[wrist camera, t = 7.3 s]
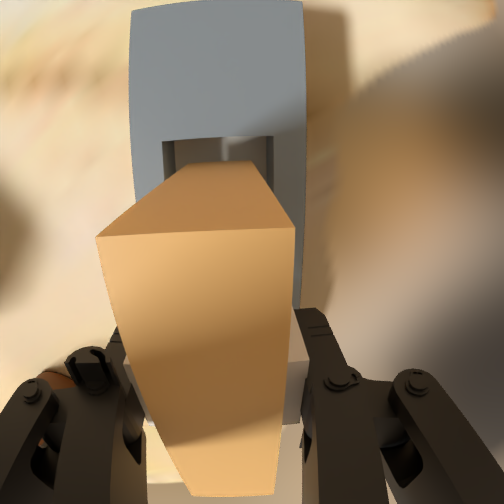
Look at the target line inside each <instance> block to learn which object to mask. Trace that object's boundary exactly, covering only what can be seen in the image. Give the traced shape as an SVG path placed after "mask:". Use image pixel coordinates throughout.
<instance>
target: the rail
mask: <svg viewBox="0 0 504 504" xmlns="http://www.w3.org/2000/svg"><path fill="white" fill-rule="evenodd" d="M129 120H130V140H131V155H132V167H133V178H134V188H135V197H136V203H137V202H138V201H139V200H140V199H142V198H143V197H144V196H145V195H147V194H148V193H149V192H151V191H152V190H153V189H154V188H156V187H157V186H158V185H160V184H161V183H162V182H164V181H165V180H166V179H168V178H169V177H170V176H172V175H173V174H175V173H176V172H177V171H179V170H180V169H181V168H183V167H184V166H186V165H187V164H188V163H199V162H217V161H243V160H251V161H252V162H253V164H254V165H255V167H256V168H257V170H258V171H259V173H260V174H261V176H262V177H263V179H264V180H265V182H266V183H267V185H268V186H269V188H270V189H271V191H272V192H273V194H274V195H275V197H276V198H277V200H278V201H279V203H280V205H281V206H282V208H283V209H284V211H285V212H286V214H287V215H288V217H289V219H290V220H291V222H292V223H293V225H294V226H295V249H294V272H293V292H292V307H293V309H299V308H300V295H301V280H302V264H303V246H304V224H305V196H306V132H307V127H306V66H305V40H304V21H303V5H302V1H291V0H201V1H190V2H181V3H173V4H166V5H160V6H154V7H148V8H143V9H138V10H133V11H132V13H131V26H130V45H129Z"/></svg>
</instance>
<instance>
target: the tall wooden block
mask: <svg viewBox="0 0 504 504" xmlns="http://www.w3.org/2000/svg"><path fill="white" fill-rule="evenodd" d="M95 238H96V243H97V248H98V253H99V258H100V262H101V267H102V271H103V275H104V280H105V284H106V288H107V291H108V295H109V299H110V303H111V306H112V310H113V313H114V317H115V320H116V323H117V327H118V330H119V333H120V336H121V339H122V342H123V345H124V348H125V351H126V354H127V357H128V360H129V363H130V366H131V368H132V371H133V374H134V376H135V379H136V382H137V384H138V387H139V389H140V392H141V394H142V397H143V399H144V401H145V404H146V406H147V409H148V411H149V413H150V415H151V418H152V420H153V422H154V424H155V426H156V429H157V431H158V433H159V435H160V437H161V439H162V441H163V443H164V445H165V447H166V449H167V451H168V453H169V455H170V457H171V459H172V461H173V463H174V465H175V467H176V469H177V470H178V472H179V474H180V476H181V478H182V479H183V481H184V483H185V484H186V486H187V488H188V489H189V491H190V493H191V495H192V496H208V497H237V496H258V495H271V494H273V493H274V487H275V480H276V472H277V464H278V456H279V447H280V439H281V429H282V420H283V410H284V400H285V389H286V378H287V366H288V353H289V340H290V325H291V309H292V292H293V272H294V249H295V226H294V225H293V223H292V222H291V220H290V219H289V217H288V215H287V214H286V212H285V211H284V209H283V208H282V206H281V205H280V203H279V201H278V200H277V198H276V197H275V195H274V194H273V192H272V191H271V189H270V188H269V186H268V185H267V183H266V182H265V180H264V179H263V177H262V176H261V174H260V173H259V171H258V170H257V168H256V167H255V165H254V164H253V162H252V161H251V160H243V161H217V162H199V163H188V164H187V165H186V166H184V167H183V168H181V169H180V170H179V171H177V172H176V173H175V174H173V175H172V176H170V177H169V178H168V179H166V180H165V181H164V182H162V183H161V184H160V185H158V186H157V187H156V188H154V189H153V190H152V191H151V192H149V193H148V194H147V195H145V196H144V197H143V198H142V199H140V200H139V201H138V202H137V203H135V204H134V205H133V206H132V207H130V208H129V209H128V210H127V211H125V212H124V213H123V214H122V215H121V216H119V217H118V218H117V219H116V220H115V221H113V222H112V223H111V224H110V225H109V226H108V227H106V228H105V229H104V230H103V231H102V232H101V233H99V234H98V235H97V236H96V237H95Z"/></svg>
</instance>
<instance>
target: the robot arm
mask: <svg viewBox="0 0 504 504" xmlns="http://www.w3.org/2000/svg"><path fill="white" fill-rule="evenodd" d="M64 363H65V366H66V368H67V370H68V372H69V373H70V375H71V377H72V379H73V381H74V383H75V385H76V386H75V387H71V388H64V389H55V390H53V389H52V388H51V386H50V385H49V383H48V381H46V380H44V379H42V378H33V379H29V380H27V381H25V382H23V383H22V384H21V385H20V386H19V387H18V388H17V390H16V391H15V392H14V394H13V395H12V397H11V398H10V400H9V401H8V403H7V404H6V406H5V407H4V409H3V410H2V412H1V413H0V504H148V501H147V476H146V436H145V432H144V430H143V428H142V426H143V422H144V418H146V420H147V422H148V424H149V426H155V424H154V422H153V420H152V418H151V415H150V413H149V411H148V409H147V406H146V404H145V401H144V399H143V397H142V394H141V392H140V389H139V387H138V384H137V382H136V379H135V376H134V374H133V371H132V368H131V366H130V363H129V360H128V357H127V354H126V351H125V348H124V345H123V342H122V339H121V336H120V333H119V330H118V327H116V329H115V331H114V334H113V335H112V337H111V339H110V343H108V345H107V347H106V349H103V348H101V347H95V346H90V347H84V348H81V349H79V350H76V351H74V352H73V353H72V354H71V355H69V356H68V358H67V359H66V361H65V362H64ZM301 416H302V421H303V425H304V429H303V434H302V438H301V443H300V448H302V504H389V499H388V493H387V487H386V481H387V483H388V485H389V487H390V489H391V491H392V493H393V495H394V497H395V500H396V502H397V504H504V472H503V470H502V469H501V467H500V466H499V465H498V463H497V461H496V460H495V459H494V457H493V456H492V454H491V453H490V451H489V450H488V449H487V447H486V446H485V444H484V443H483V441H482V440H481V439H480V437H479V436H478V435H477V433H476V431H475V430H474V429H473V427H472V426H471V425H470V423H469V422H468V421H467V419H466V418H465V417H464V415H463V414H462V412H461V411H460V410H459V409H458V407H457V406H456V405H455V403H454V402H453V401H452V399H451V398H450V397H449V396H448V394H447V393H446V392H445V390H444V389H443V388H442V386H440V384H439V383H438V381H437V380H436V379H435V378H434V377H433V376H432V375H431V374H429V373H428V372H425V371H423V370H420V369H407V370H404V371H402V372H400V373H398V375H397V376H396V378H395V379H394V381H393V382H390V381H374V380H368V379H365V378H362V376H361V374H360V373H359V372H358V371H357V370H355V369H354V368H352V367H350V366H348V365H347V363H346V361H345V358H344V356H343V354H342V352H341V349H340V347H339V345H338V343H337V341H336V339H335V336H334V335H333V332H332V330H331V327H329V323H328V321H327V319H326V317H325V315H324V314H322V313H321V312H320V311H319V310H318V309H316V308H305V309H293V307H292V309H291V325H290V340H289V353H288V366H287V378H286V389H285V400H284V410H283V420H282V425H287V424H295V423H300V417H301ZM41 439H43V440H44V443H43V444H42V445H40V446H38V444H39V442H40V440H41ZM385 479H386V481H385Z"/></svg>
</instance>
